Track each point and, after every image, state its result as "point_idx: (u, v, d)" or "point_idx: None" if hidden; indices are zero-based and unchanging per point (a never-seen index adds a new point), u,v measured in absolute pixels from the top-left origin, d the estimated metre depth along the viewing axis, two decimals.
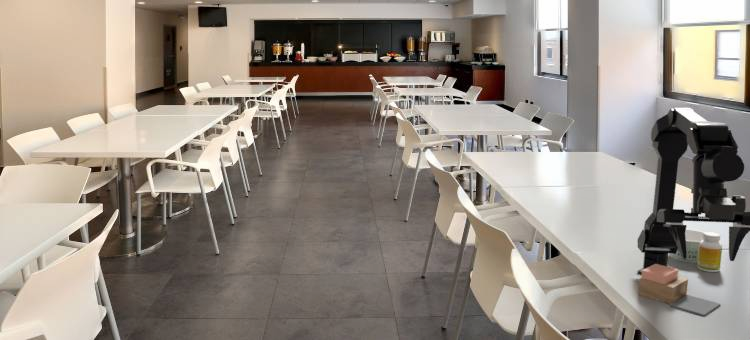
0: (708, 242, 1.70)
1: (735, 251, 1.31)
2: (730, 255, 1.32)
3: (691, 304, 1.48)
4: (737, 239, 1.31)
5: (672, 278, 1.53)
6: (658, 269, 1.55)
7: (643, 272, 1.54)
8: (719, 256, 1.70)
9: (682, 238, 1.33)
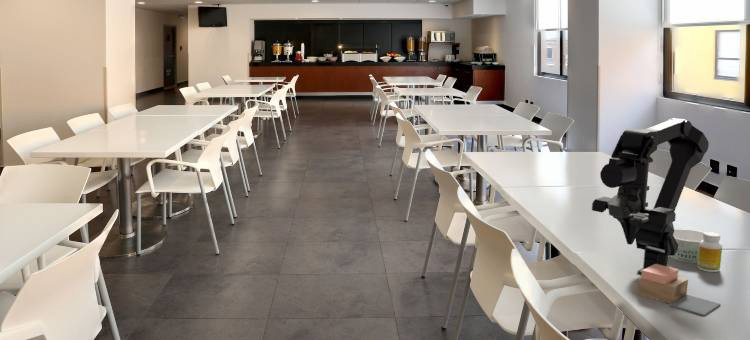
0: (708, 242, 1.70)
1: (630, 237, 1.58)
2: None
3: (691, 304, 1.48)
4: (631, 228, 1.58)
5: (672, 278, 1.53)
6: (658, 269, 1.55)
7: (643, 272, 1.54)
8: (719, 256, 1.70)
9: (624, 227, 1.59)
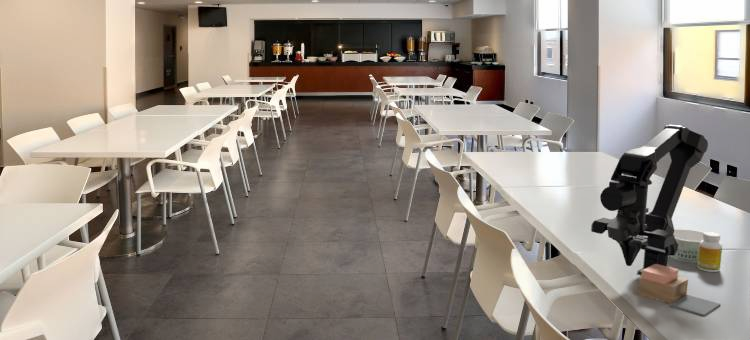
0: (708, 242, 1.70)
1: (629, 259, 1.59)
2: None
3: (691, 304, 1.48)
4: (630, 250, 1.58)
5: (672, 278, 1.53)
6: (658, 269, 1.55)
7: (643, 272, 1.54)
8: (719, 256, 1.70)
9: (624, 249, 1.60)
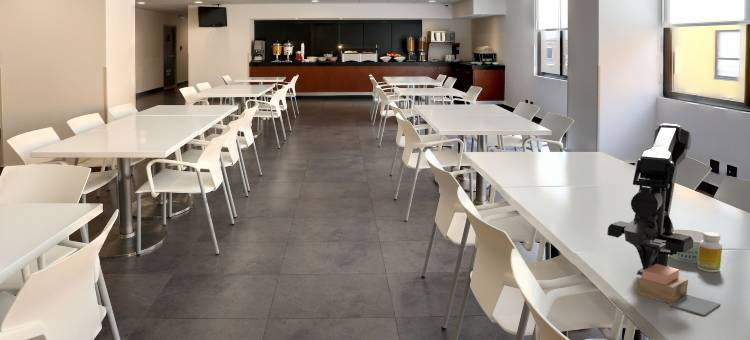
0: (708, 242, 1.70)
1: (647, 263, 1.56)
2: None
3: (691, 304, 1.48)
4: (648, 254, 1.55)
5: (673, 278, 1.53)
6: (659, 269, 1.55)
7: (644, 272, 1.54)
8: (719, 256, 1.70)
9: (641, 253, 1.56)
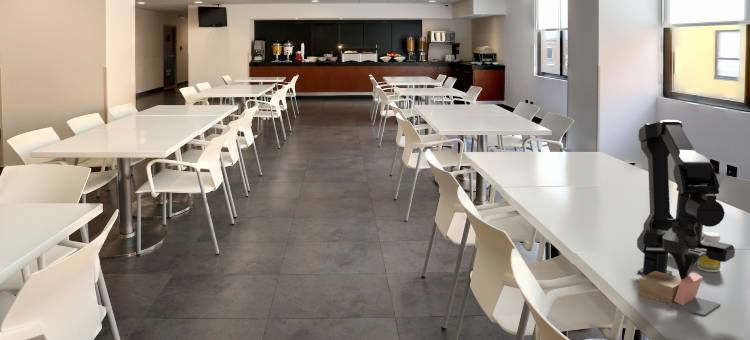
0: (708, 242, 1.70)
1: (685, 273, 1.49)
2: None
3: (691, 304, 1.48)
4: (686, 263, 1.49)
5: None
6: (692, 289, 1.49)
7: (687, 284, 1.47)
8: None
9: (678, 262, 1.50)
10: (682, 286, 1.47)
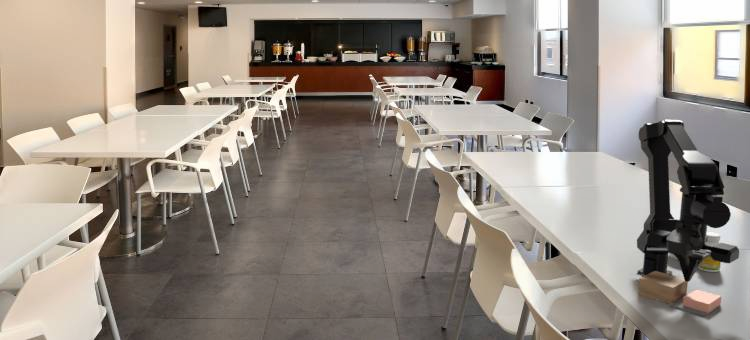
0: (708, 242, 1.70)
1: (689, 274, 1.49)
2: None
3: None
4: (690, 265, 1.48)
5: None
6: None
7: (706, 310, 1.44)
8: None
9: (682, 263, 1.49)
10: (702, 305, 1.45)
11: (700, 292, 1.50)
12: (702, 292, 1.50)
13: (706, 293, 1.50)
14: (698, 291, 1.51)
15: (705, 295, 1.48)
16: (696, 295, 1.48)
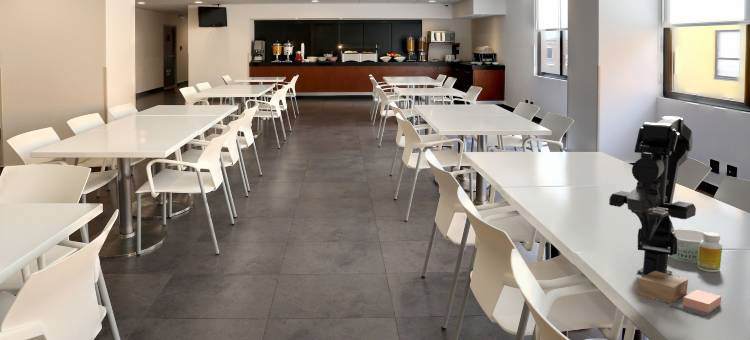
0: (708, 242, 1.70)
1: (649, 232, 1.56)
2: None
3: None
4: (650, 223, 1.55)
5: None
6: None
7: (706, 310, 1.44)
8: (719, 256, 1.70)
9: (643, 222, 1.56)
10: (702, 305, 1.45)
11: (700, 292, 1.50)
12: (702, 292, 1.50)
13: (706, 293, 1.50)
14: (698, 291, 1.51)
15: (705, 295, 1.48)
16: (696, 295, 1.48)
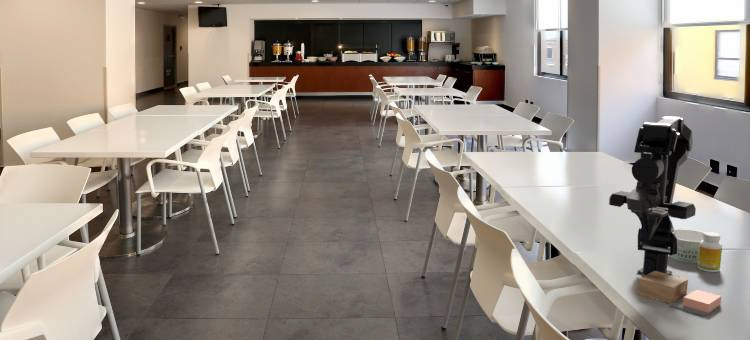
0: (708, 242, 1.70)
1: (649, 232, 1.56)
2: None
3: None
4: (650, 223, 1.55)
5: None
6: None
7: (706, 310, 1.44)
8: (719, 256, 1.70)
9: (643, 222, 1.56)
10: (702, 305, 1.45)
11: (700, 292, 1.50)
12: (702, 292, 1.50)
13: (706, 293, 1.50)
14: (698, 291, 1.51)
15: (705, 295, 1.48)
16: (696, 295, 1.48)
